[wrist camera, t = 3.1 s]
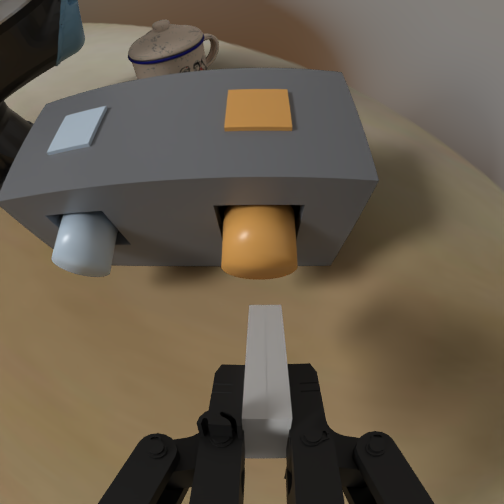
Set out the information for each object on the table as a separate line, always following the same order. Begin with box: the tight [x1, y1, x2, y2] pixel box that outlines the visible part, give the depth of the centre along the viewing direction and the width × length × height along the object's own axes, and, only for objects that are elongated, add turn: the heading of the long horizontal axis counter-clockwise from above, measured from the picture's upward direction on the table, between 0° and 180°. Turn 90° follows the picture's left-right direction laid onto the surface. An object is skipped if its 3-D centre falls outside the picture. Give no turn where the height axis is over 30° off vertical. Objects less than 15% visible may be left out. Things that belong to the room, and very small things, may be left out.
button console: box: [0, 68, 379, 266], centre depth 21 cm, size 10×24×12 cm, turn 90°
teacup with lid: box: [128, 20, 219, 79], centre depth 29 cm, size 12×9×12 cm
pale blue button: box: [52, 211, 118, 277], centre depth 18 cm, size 4×4×4 cm
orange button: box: [221, 205, 298, 279], centre depth 18 cm, size 4×4×4 cm
